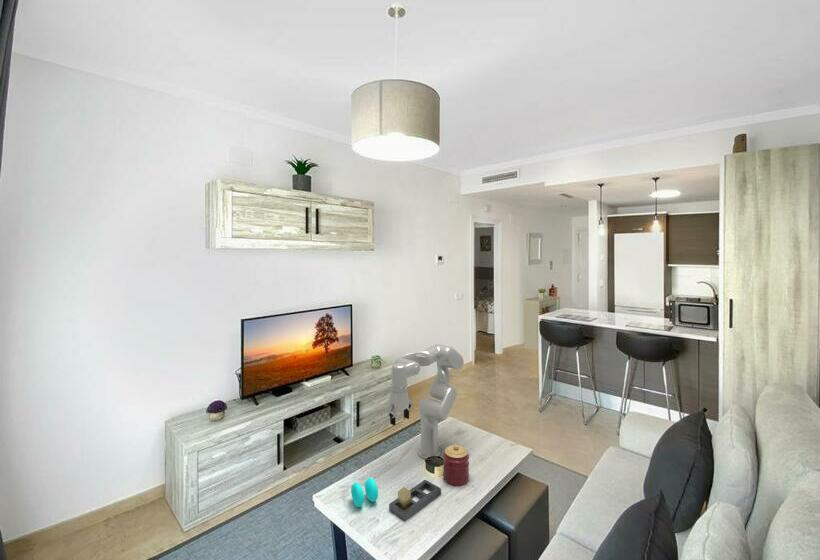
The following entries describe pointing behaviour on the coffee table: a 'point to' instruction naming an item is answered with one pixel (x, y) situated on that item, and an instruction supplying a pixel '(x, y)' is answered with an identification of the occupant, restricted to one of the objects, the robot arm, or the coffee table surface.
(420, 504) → the grey flat slotted block
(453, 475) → the canister
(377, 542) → the coffee table surface
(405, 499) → the brass peg
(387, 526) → the coffee table surface
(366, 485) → the donuts
